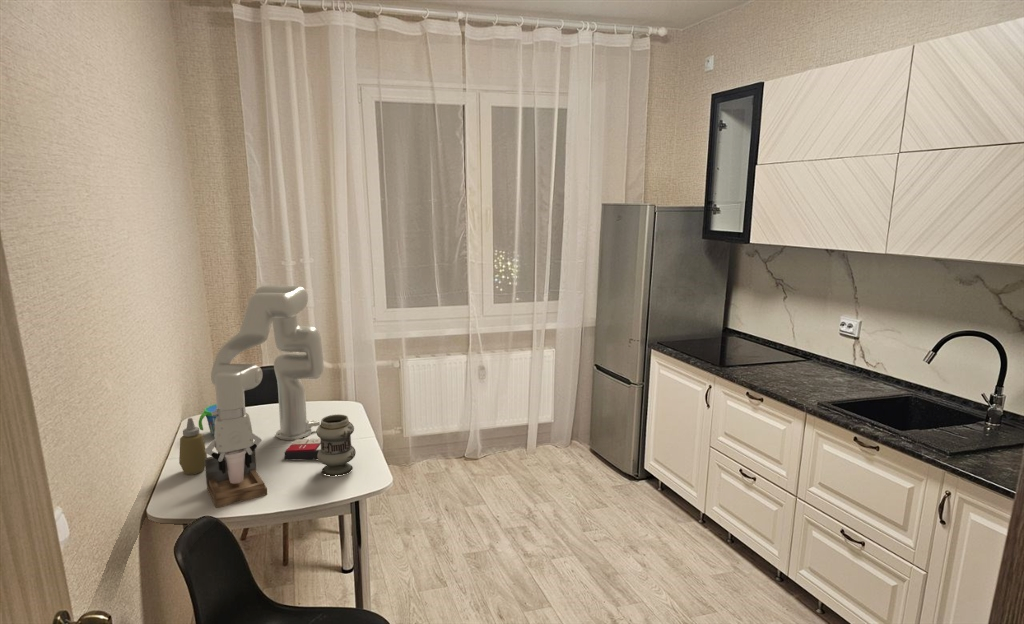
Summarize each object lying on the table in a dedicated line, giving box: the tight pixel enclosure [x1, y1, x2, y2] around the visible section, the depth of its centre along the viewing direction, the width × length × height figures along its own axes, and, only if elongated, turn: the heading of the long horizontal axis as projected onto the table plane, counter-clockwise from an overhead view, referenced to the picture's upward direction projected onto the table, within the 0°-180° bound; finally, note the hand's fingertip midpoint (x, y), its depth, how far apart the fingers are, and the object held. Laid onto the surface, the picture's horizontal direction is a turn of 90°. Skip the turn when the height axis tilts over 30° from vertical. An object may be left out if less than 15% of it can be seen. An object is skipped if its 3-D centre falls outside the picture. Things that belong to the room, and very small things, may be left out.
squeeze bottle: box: [178, 417, 208, 475], centre depth 188 cm, size 8×8×18 cm
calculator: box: [284, 437, 321, 460], centre depth 204 cm, size 11×4×15 cm
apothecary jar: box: [315, 413, 356, 477], centre depth 190 cm, size 12×12×18 cm
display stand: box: [204, 449, 268, 508], centre depth 175 cm, size 14×14×10 cm
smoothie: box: [224, 449, 246, 483], centre depth 174 cm, size 6×6×14 cm
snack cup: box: [198, 403, 217, 436], centre depth 221 cm, size 16×10×10 cm
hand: (235, 468), depth 175 cm, fingers closed on smoothie, 6 cm apart
